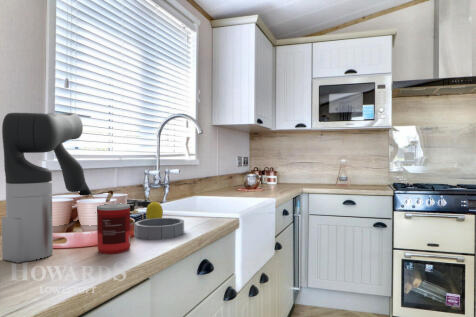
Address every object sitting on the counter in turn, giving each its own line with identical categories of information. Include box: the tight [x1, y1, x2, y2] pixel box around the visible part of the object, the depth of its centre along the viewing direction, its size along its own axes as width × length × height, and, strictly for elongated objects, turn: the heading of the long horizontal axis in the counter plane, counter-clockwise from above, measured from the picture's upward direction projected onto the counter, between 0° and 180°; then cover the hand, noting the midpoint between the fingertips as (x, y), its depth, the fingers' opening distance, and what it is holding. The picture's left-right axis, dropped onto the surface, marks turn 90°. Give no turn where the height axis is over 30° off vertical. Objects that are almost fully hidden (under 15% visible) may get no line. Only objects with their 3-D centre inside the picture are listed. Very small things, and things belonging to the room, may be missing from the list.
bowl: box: [133, 217, 185, 240], centre depth 105 cm, size 14×14×4 cm
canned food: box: [96, 203, 131, 255], centre depth 87 cm, size 8×8×11 cm
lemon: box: [145, 200, 164, 219], centre depth 119 cm, size 6×6×8 cm
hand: (142, 206), depth 121 cm, fingers open, 8 cm apart
